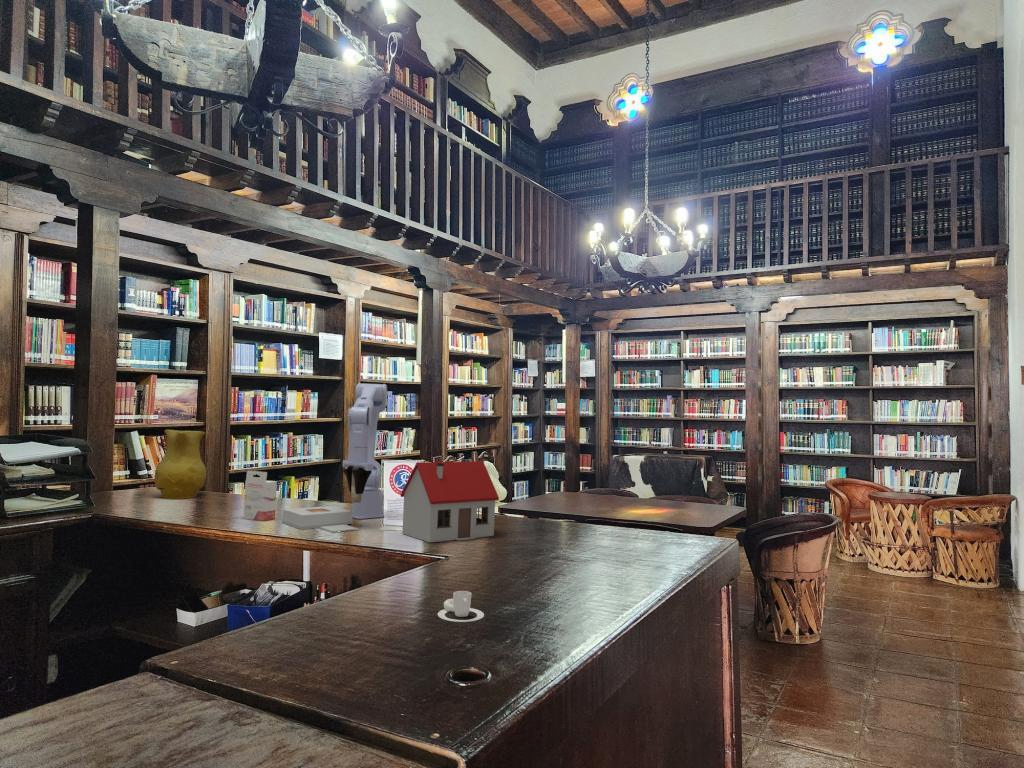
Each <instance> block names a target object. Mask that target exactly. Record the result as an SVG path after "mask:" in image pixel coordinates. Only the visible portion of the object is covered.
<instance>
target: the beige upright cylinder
mask: <svg viewBox="0 0 1024 768" xmlns="http://www.w3.org/2000/svg"><path fill="white" fill-rule="evenodd" d="M352 470H358V468H352ZM361 495H362V494H356V492H355V480H354V476H353V473H352V487H351V493H350V503H352V504H353V503H361Z"/></svg>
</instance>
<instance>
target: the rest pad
mask: <svg viewBox="0 0 1024 768" xmlns="http://www.w3.org/2000/svg"><path fill="white" fill-rule="evenodd" d="M322 529H323V530H322ZM320 530H322V531H325V530H326V532H328V531H330V532H329V533H331V532H337V533H339V532H338V531H346V530H356V531H359V527H358V528H357V527H354V526H352V525H345V524H344V525H333V526H323V527H320ZM346 532H347V531H346Z"/></svg>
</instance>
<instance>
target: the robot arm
mask: <svg viewBox="0 0 1024 768" xmlns="http://www.w3.org/2000/svg"><path fill="white" fill-rule="evenodd" d="M387 398H388V386H387V384H386V383H383V384H381V383H361V382H358V383H357V384H356V386H355V401H354V404H353V406H351V407H350V408H348V412H347V423H348V424H347V425H348V427H347V428H348V432H349V435H348V450H347V451H348V454H347V456H348V457H347V459H343V460H342V468H343V470H342V472H343V473H344V475H345V478H346V481H347V486H348V491H349V493H350V494H351V487H352V473H353V476H354V480H355V492H356V494H362V495H361V503H352V505H351V506H352V508H351V511H353V518H354V519H355V520H365V519H366V520H367V519H376V518H384V517H383V515H384V509H383V510H382V506H383V507H384V504H383V496H384V492H383V491H382V490H381V489H380V487H381V484H382V466H381V464H380V463H379V462H378V461H377V460H376V459H375V452H376V451H375V450H376V449H375V448H376V442H377V441H376V440H377V439H376V438H377V430H378V420H379V416H380V414H381V413H382V412H384V411H385V410H386V406H387ZM345 467H347V468H345ZM352 468H358V470H352Z"/></svg>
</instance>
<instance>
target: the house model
mask: <svg viewBox="0 0 1024 768" xmlns="http://www.w3.org/2000/svg"><path fill="white" fill-rule="evenodd" d="M403 486H404V487H403V489H402V491H401V492H400V497H401V498H403V509H402V511H403V513H402V533H401V534H403V535H406V536H409V537H412V538H416V539H418V540H421V541H424V542H426V543H438V542H447V541H466V540H467V541H468V540H475V539H477V538H485V537H494V535H495V514H496V512H495V510H496V509H495V507H496V501H499V500H500V497H499V495H498V492H497V490H496V487H495V485H494V482H493V481H492V478H491V476H490V474H489V471H488V469H487V466H486V464H485V462H484V461H483V460H482V461H480V460H479V461H426V462H425V461H421V462H419V461H418V462H416V463H415V465H414V467H413V469H412V470H411V473H410V475H409V477H408V478H407V481H406V483H405V484H404V485H403ZM480 509H481V511H480ZM480 513H481V515H480ZM480 517H481V518H480Z"/></svg>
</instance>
